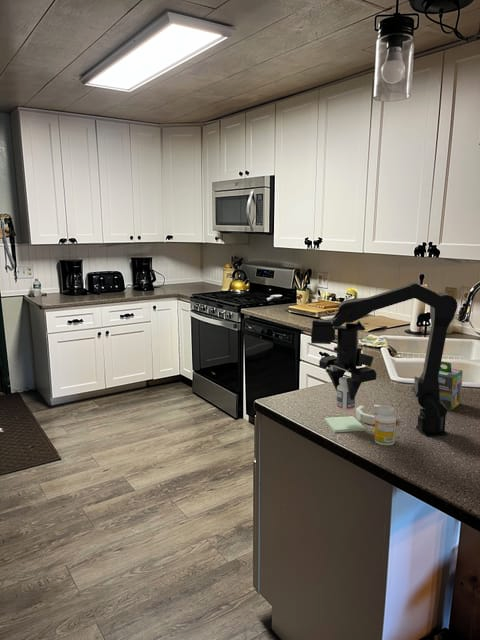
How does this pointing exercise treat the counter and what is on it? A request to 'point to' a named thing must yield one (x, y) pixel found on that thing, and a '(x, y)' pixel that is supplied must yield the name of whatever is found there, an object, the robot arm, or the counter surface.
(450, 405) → the chalk box
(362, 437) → the counter surface
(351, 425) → the pad
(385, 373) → the counter surface
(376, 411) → the locking ring
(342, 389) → the pill bottle
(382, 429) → the supplement bottle
